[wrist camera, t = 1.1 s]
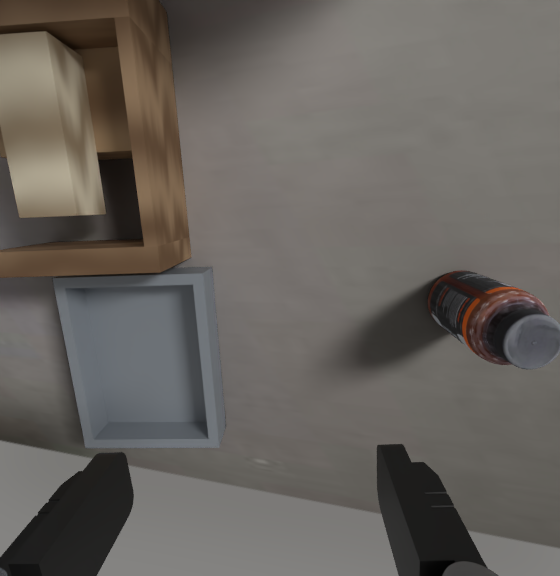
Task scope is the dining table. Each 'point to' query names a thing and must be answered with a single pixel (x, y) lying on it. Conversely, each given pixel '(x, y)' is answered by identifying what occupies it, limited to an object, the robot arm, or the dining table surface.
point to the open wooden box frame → (116, 130)
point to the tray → (144, 357)
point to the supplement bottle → (495, 320)
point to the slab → (48, 127)
